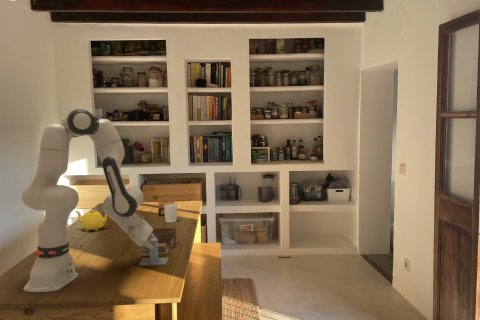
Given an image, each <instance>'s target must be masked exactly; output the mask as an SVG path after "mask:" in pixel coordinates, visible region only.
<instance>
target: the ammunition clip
mask: <svg viewBox="0 0 480 320" xmlns="http://www.w3.org/2000/svg"><path fill="white" fill-rule="evenodd" d="M174 200H175V199H174V197H172V198H171V197H169V198H168V197H167V198H165V197H164V199H163V197H161V198H160V197H159V198H158V206H157V207H158V208H157V209H158V211H157V213H158V214H157V215H158V217H165V211H164V205H167V204H175V201H174Z"/></svg>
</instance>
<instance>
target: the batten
mask: <svg viewBox="0 0 480 320" xmlns="http://www.w3.org/2000/svg"><path fill="white" fill-rule="evenodd" d="M148 242H149V243H150V244H152V245H154V248H153V249H152V250H150V249H149V250H150V256H149V258H150V263H151V262H157V261H158V258H159V256H158V239H157V238H151V239H150V238H149V240H148Z"/></svg>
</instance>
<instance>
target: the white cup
mask: <svg viewBox="0 0 480 320" xmlns="http://www.w3.org/2000/svg"><path fill="white" fill-rule="evenodd" d="M164 211H165V216H164V218H165V222H166V223H176V222H177V220H178V219H177V218H178V205H177V204H176V203H174V204H172V203H171V204H167V205H164Z"/></svg>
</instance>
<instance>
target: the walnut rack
mask: <svg viewBox="0 0 480 320" xmlns="http://www.w3.org/2000/svg"><path fill="white" fill-rule="evenodd" d="M152 228H153V231H152V233H153V234H154V236H155V238H157V239H158V243H166V245H167V244H170V246H169V247H170V249H173V248H174V245H175V244H176V243H177V234H176V229H177V228H176V227H152ZM150 239H151V238H149V240H150Z"/></svg>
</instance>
